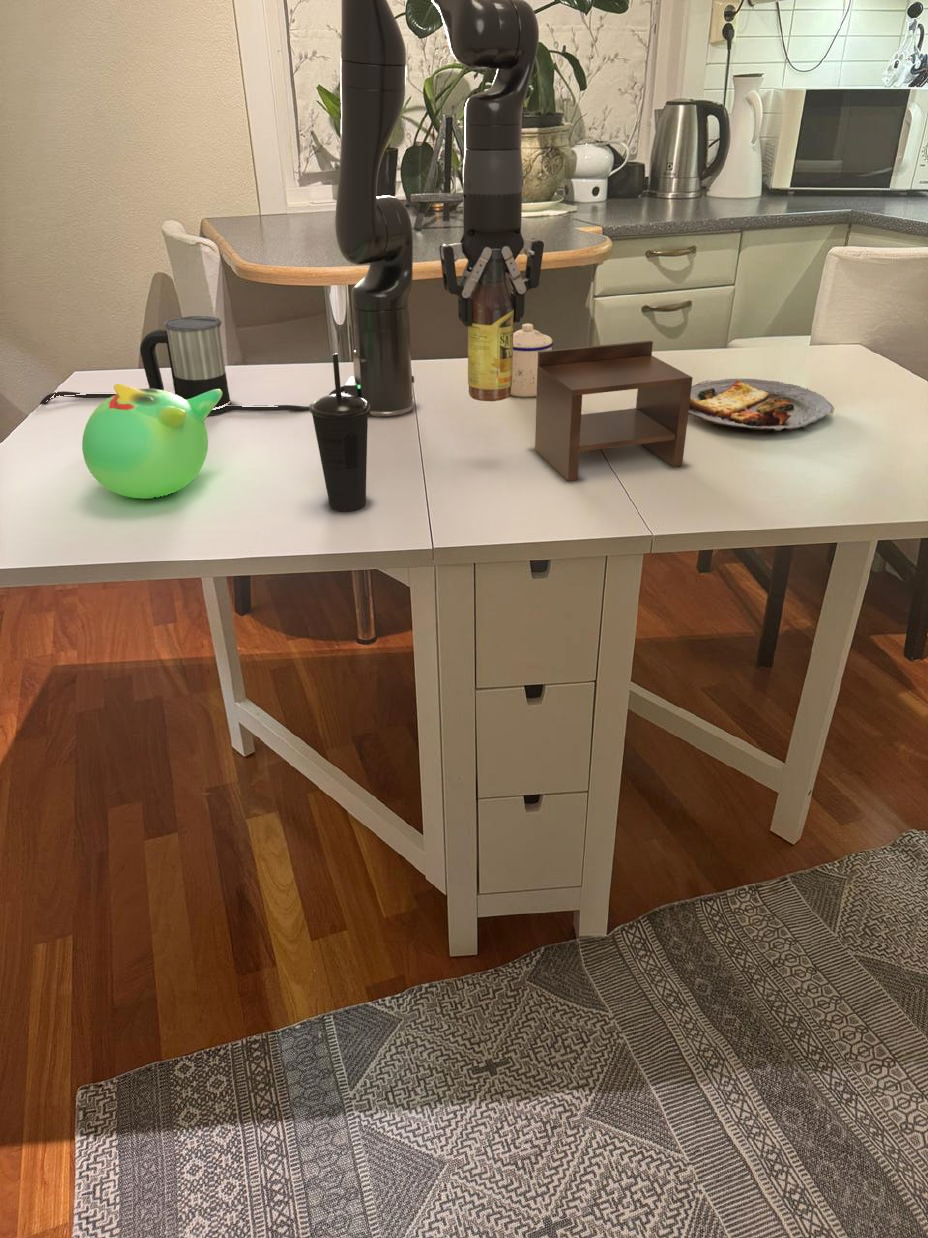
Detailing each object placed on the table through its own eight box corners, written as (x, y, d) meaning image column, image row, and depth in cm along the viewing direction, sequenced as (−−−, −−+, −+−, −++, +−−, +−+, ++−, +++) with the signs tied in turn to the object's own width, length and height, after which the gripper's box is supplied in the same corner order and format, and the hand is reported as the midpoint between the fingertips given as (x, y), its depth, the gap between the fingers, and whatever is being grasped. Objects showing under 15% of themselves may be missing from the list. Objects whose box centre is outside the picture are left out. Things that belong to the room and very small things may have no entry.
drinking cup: (385, 496, 124) (376, 348, 114) (362, 519, 118) (350, 364, 108) (334, 490, 126) (321, 344, 116) (309, 511, 120) (292, 359, 110)
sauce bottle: (508, 404, 126) (511, 252, 116) (463, 402, 127) (462, 250, 117) (515, 390, 132) (518, 243, 121) (472, 388, 133) (472, 242, 122)
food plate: (769, 450, 137) (773, 428, 136) (647, 414, 153) (649, 393, 151) (854, 414, 151) (858, 393, 150) (734, 384, 167) (737, 365, 165)
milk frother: (230, 398, 163) (218, 312, 155) (241, 425, 150) (227, 334, 143) (148, 407, 159) (131, 320, 152) (151, 436, 146) (132, 342, 139)
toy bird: (123, 466, 135) (102, 367, 127) (236, 466, 134) (221, 367, 127) (75, 517, 119) (47, 408, 112) (202, 517, 119) (183, 407, 111)
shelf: (567, 481, 128) (573, 375, 120) (534, 450, 139) (537, 350, 131) (682, 465, 133) (694, 362, 125) (641, 436, 143) (650, 340, 136)
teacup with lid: (539, 380, 170) (541, 316, 164) (559, 394, 163) (562, 327, 157) (479, 387, 167) (478, 322, 161) (496, 402, 159) (496, 334, 153)
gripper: (535, 182, 120) (530, 313, 129) (430, 187, 117) (432, 320, 125) (556, 189, 114) (550, 325, 123) (446, 193, 111) (448, 334, 119)
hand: (491, 322), depth 124 cm, fingers closed on sauce bottle, 6 cm apart
